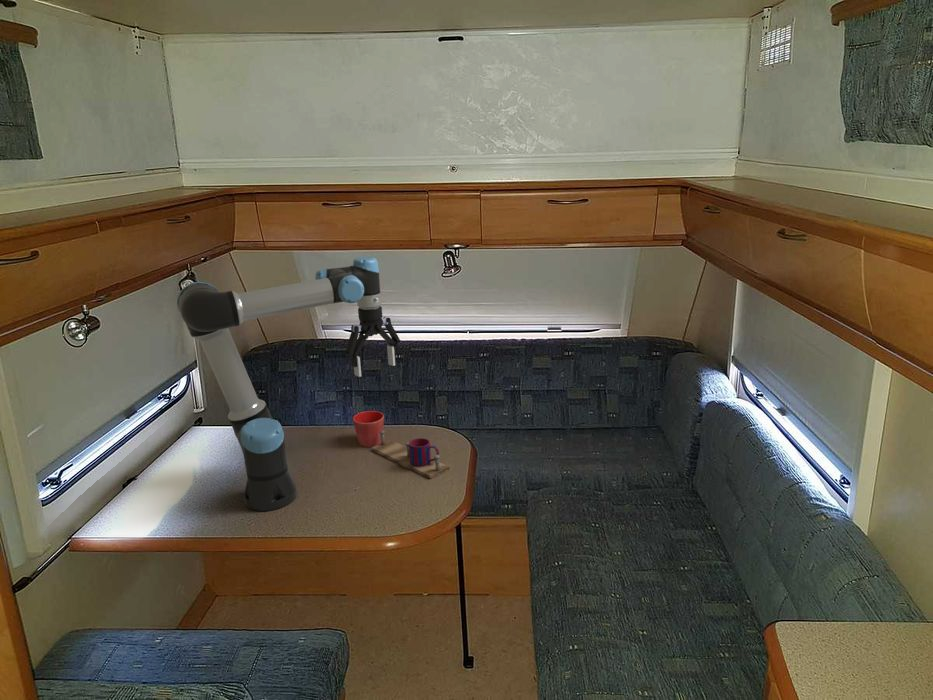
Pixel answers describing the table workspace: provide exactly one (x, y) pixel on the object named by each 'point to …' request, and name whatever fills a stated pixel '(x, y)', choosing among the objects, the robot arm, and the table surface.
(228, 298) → the robot arm
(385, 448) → the rail
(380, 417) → the flower pot
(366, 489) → the table surface
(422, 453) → the mug
